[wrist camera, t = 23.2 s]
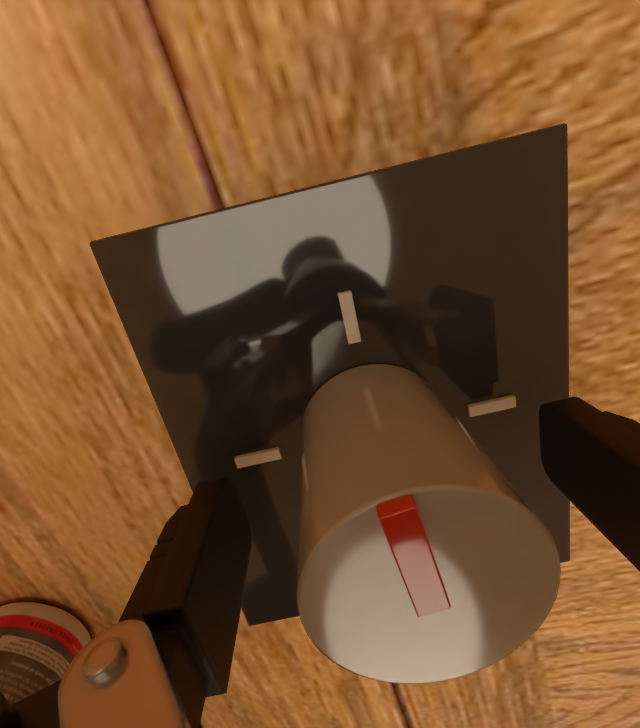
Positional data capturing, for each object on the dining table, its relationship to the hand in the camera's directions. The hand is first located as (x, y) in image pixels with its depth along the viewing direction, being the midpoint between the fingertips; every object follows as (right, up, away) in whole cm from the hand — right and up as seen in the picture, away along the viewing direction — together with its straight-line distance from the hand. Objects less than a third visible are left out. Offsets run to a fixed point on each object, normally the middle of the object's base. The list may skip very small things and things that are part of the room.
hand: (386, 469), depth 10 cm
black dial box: (0, +2, +5) cm, 5 cm away
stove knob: (0, +1, +2) cm, 2 cm away
